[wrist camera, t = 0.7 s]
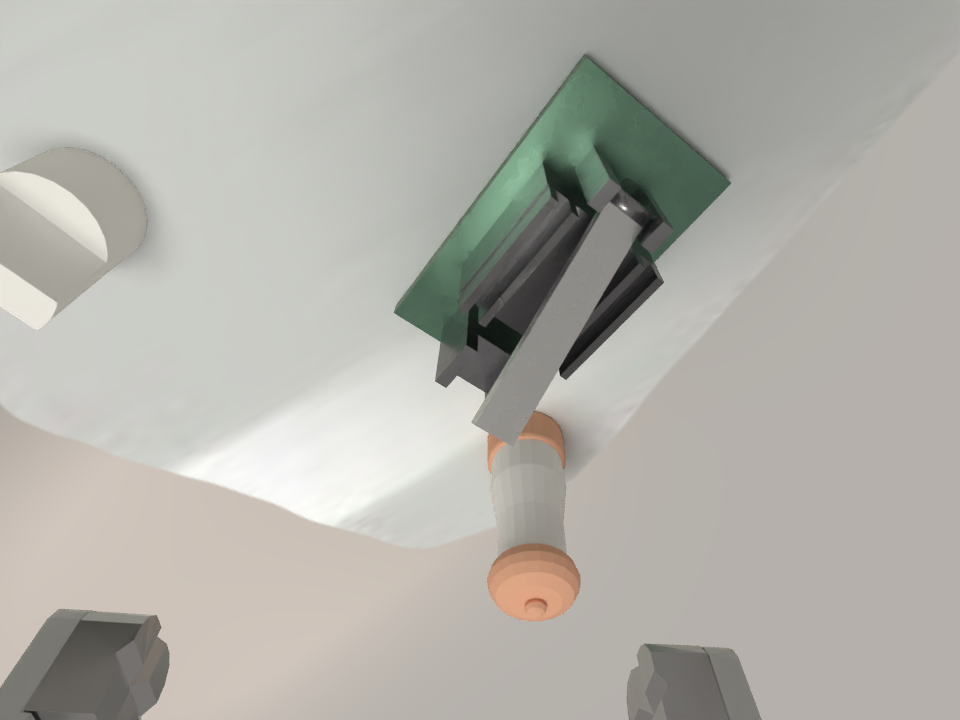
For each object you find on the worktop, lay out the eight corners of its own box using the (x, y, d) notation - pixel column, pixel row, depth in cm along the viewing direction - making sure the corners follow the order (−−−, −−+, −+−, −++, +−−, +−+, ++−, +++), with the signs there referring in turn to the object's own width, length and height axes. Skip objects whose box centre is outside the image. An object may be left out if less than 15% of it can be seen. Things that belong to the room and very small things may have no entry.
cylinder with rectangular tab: (6, 203, 48) (-122, 268, 38) (59, 120, 45) (-66, 169, 35) (112, 279, 52) (20, 358, 42) (169, 209, 48) (83, 276, 38)
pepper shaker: (511, 476, 63) (517, 654, 47) (473, 429, 60) (465, 603, 44) (575, 449, 61) (603, 625, 45) (539, 398, 58) (556, 569, 42)
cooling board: (584, 54, 42) (603, 75, 34) (726, 178, 46) (768, 219, 39) (395, 305, 52) (380, 362, 45) (524, 386, 57) (529, 449, 50)
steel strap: (609, 186, 41) (620, 183, 39) (642, 212, 42) (654, 210, 40) (470, 421, 40) (476, 425, 38) (507, 442, 40) (514, 448, 39)
